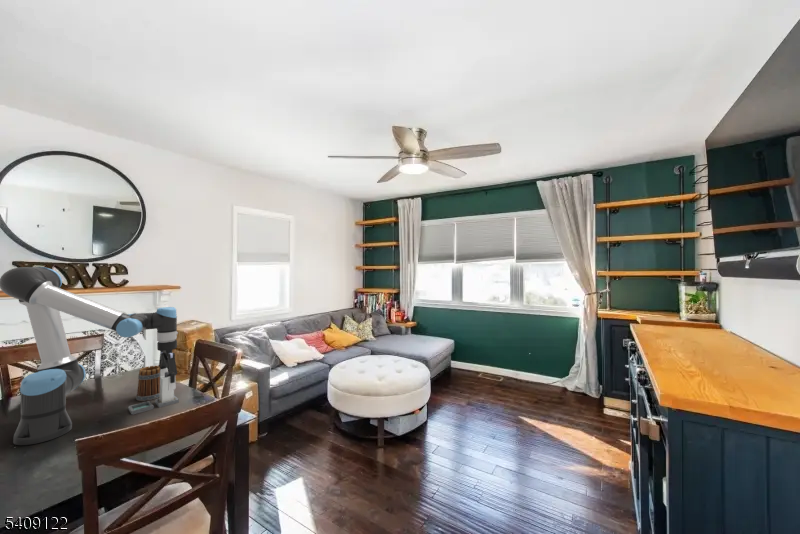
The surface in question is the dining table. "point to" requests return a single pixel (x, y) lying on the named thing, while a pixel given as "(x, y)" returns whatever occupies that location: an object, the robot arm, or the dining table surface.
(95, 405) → the dining table surface
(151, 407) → the panel
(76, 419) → the dining table surface
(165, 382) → the plug
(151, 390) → the mug
